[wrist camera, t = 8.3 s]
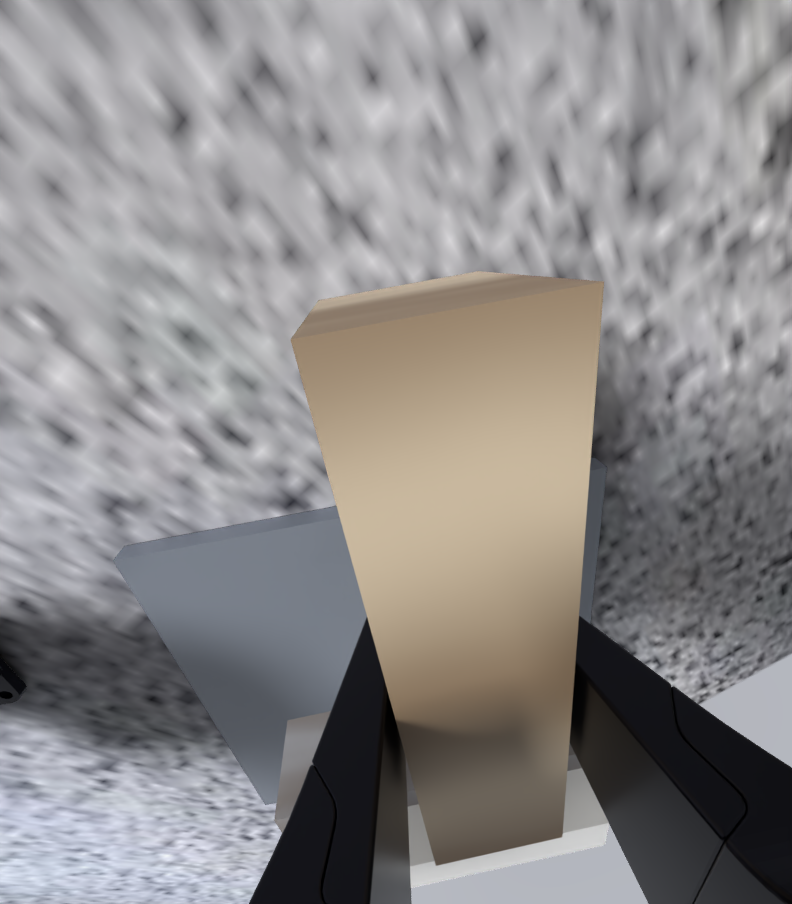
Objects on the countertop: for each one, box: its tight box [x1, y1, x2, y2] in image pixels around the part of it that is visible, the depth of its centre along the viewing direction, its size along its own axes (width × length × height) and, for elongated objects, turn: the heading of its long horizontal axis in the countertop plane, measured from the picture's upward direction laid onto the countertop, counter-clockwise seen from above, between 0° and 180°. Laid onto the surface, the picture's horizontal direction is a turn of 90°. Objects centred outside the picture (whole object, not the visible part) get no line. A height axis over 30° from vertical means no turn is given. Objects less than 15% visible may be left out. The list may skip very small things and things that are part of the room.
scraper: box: [274, 271, 604, 866], centre depth 8 cm, size 13×11×4 cm
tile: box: [408, 768, 609, 888], centre depth 15 cm, size 7×2×7 cm, turn 99°
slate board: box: [113, 458, 607, 805], centre depth 18 cm, size 18×18×1 cm
